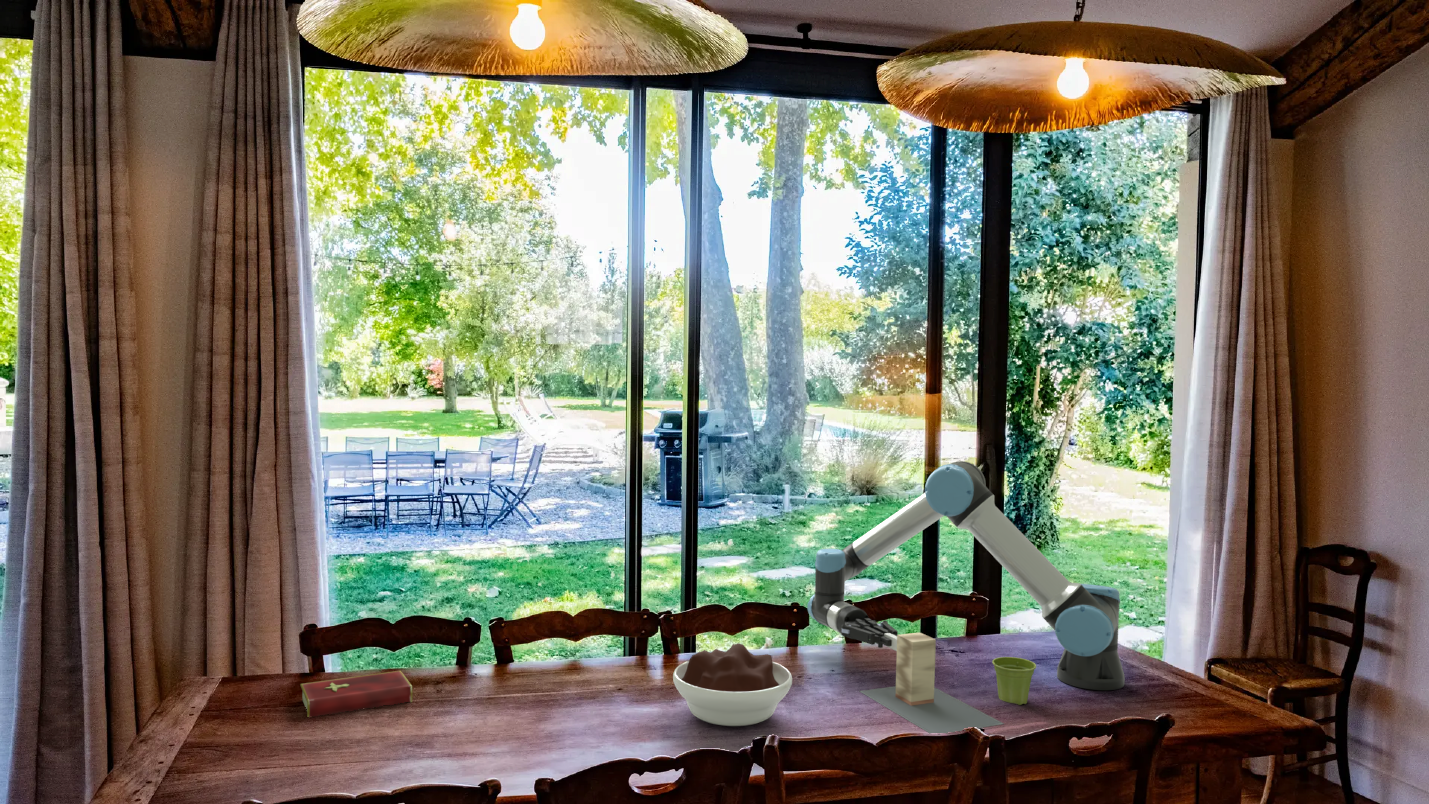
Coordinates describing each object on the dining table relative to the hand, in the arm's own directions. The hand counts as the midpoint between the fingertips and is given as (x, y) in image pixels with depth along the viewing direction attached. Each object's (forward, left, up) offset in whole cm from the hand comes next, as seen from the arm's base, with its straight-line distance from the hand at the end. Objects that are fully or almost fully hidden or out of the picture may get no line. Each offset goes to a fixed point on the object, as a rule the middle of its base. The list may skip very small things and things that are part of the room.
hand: (902, 646), depth 220 cm
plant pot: (-20, -15, -12) cm, 27 cm away
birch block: (-4, +1, -11) cm, 12 cm away
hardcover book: (+85, +84, -12) cm, 120 cm away
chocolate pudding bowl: (+20, +36, -12) cm, 43 cm away
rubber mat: (-9, +3, -11) cm, 15 cm away
